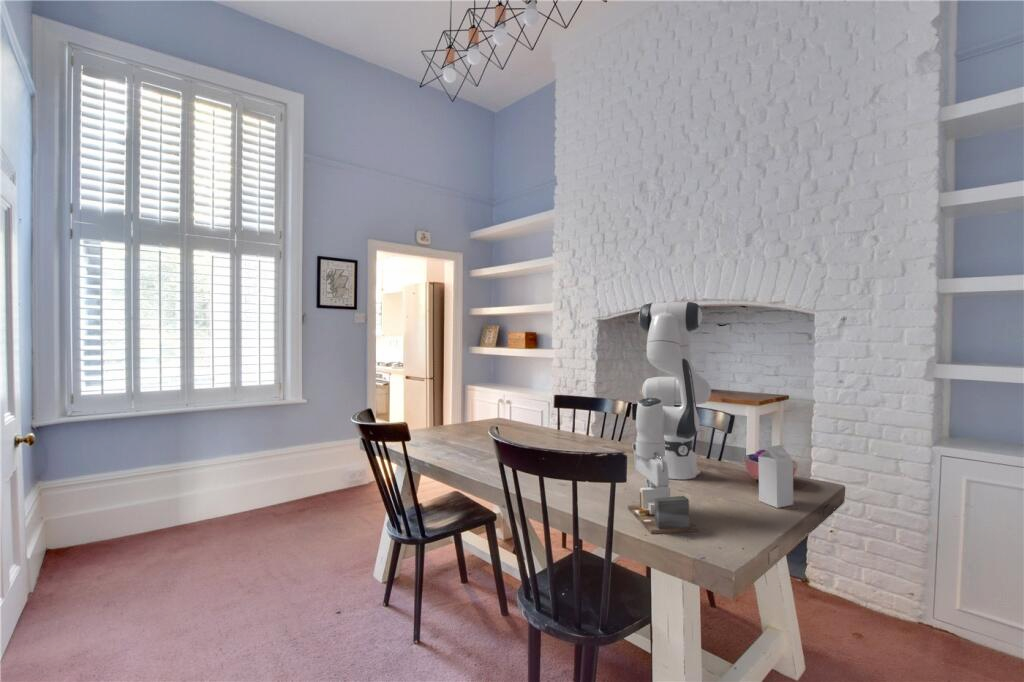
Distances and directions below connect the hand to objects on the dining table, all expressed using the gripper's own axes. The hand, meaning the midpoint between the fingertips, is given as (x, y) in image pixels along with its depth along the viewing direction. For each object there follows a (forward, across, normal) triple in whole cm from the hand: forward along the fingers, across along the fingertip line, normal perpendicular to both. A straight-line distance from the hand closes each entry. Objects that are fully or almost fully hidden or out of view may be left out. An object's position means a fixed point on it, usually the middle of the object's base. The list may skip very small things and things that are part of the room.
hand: (651, 492), depth 154 cm
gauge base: (+6, -7, 0) cm, 9 cm away
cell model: (+6, +21, -54) cm, 58 cm away
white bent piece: (+4, -6, 0) cm, 7 cm away
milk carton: (+6, 0, -42) cm, 43 cm away
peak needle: (+4, -6, +5) cm, 9 cm away
